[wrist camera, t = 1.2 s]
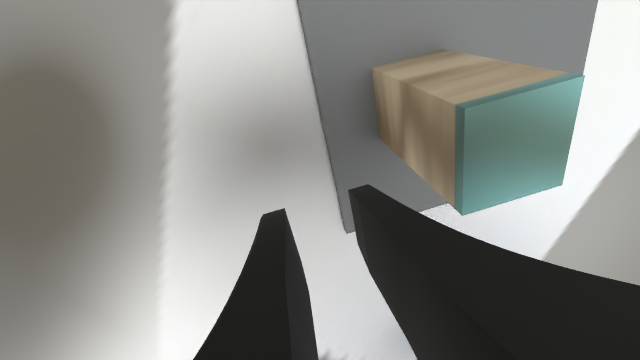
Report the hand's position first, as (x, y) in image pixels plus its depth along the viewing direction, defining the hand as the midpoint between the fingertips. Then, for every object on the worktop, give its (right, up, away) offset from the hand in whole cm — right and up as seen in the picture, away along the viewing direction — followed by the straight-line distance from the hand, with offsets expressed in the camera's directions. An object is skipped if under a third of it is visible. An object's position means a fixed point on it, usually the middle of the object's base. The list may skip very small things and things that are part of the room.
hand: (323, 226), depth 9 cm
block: (+5, +6, +8) cm, 11 cm away
